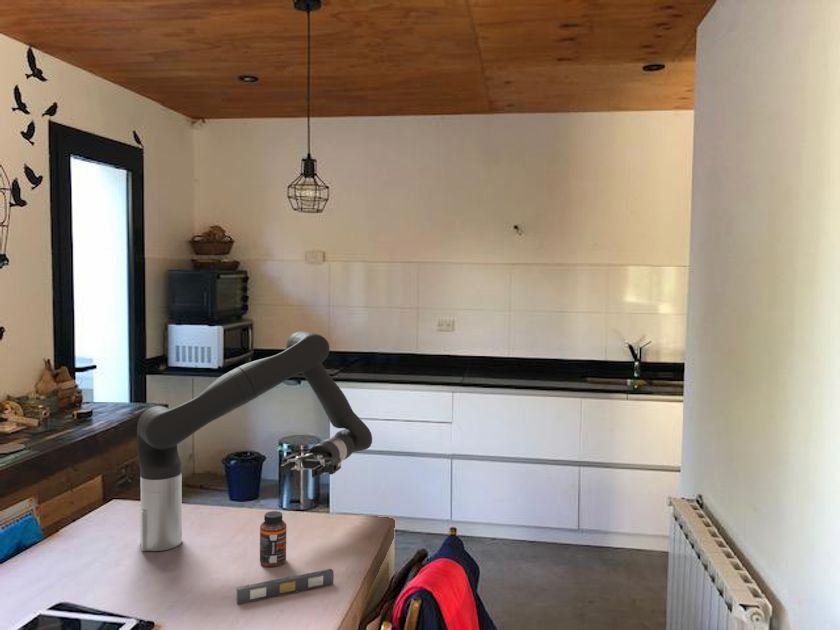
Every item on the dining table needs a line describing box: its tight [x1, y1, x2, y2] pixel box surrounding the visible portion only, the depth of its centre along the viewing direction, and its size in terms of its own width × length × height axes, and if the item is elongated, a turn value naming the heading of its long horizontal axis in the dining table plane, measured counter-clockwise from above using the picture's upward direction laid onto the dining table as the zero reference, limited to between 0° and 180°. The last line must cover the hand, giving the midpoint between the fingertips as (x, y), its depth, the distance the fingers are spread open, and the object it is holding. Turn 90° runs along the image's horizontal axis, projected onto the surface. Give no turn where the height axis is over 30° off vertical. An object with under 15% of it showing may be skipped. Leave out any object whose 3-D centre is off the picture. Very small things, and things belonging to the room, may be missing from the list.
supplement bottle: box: [259, 510, 287, 568], centre depth 149 cm, size 6×6×11 cm
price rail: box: [236, 568, 335, 605], centre depth 135 cm, size 20×2×3 cm, turn 116°
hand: (297, 471), depth 159 cm, fingers open, 8 cm apart
